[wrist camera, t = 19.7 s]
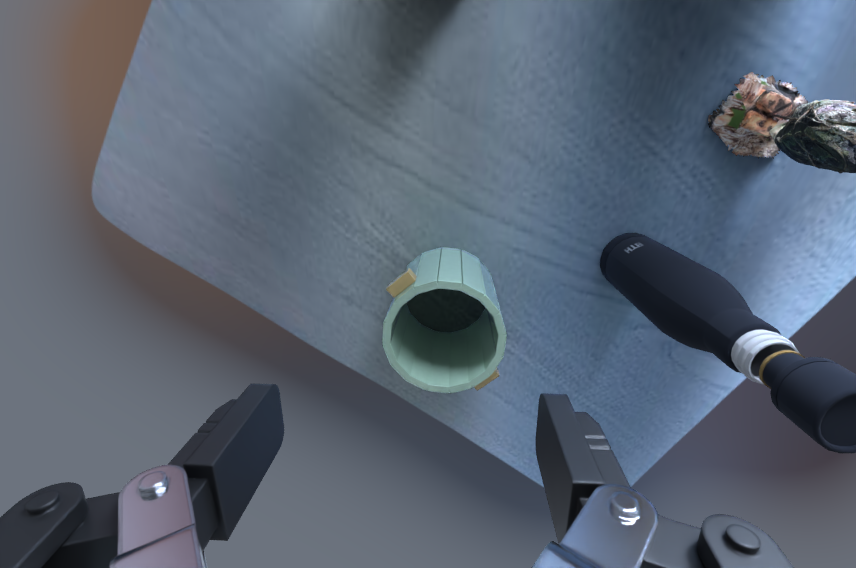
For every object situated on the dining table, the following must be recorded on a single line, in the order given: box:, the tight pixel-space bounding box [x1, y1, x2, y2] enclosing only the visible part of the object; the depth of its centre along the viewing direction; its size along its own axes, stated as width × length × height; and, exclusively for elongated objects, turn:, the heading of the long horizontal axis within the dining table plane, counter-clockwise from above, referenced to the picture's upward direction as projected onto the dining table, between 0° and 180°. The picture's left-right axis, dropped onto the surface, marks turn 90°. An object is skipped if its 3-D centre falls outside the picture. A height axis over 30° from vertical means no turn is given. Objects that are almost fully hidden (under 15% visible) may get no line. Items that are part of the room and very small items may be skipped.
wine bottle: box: [600, 233, 856, 453], centre depth 35 cm, size 6×6×30 cm
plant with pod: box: [708, 72, 856, 173], centre depth 35 cm, size 8×11×20 cm
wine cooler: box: [382, 247, 507, 394], centre depth 46 cm, size 12×14×12 cm
